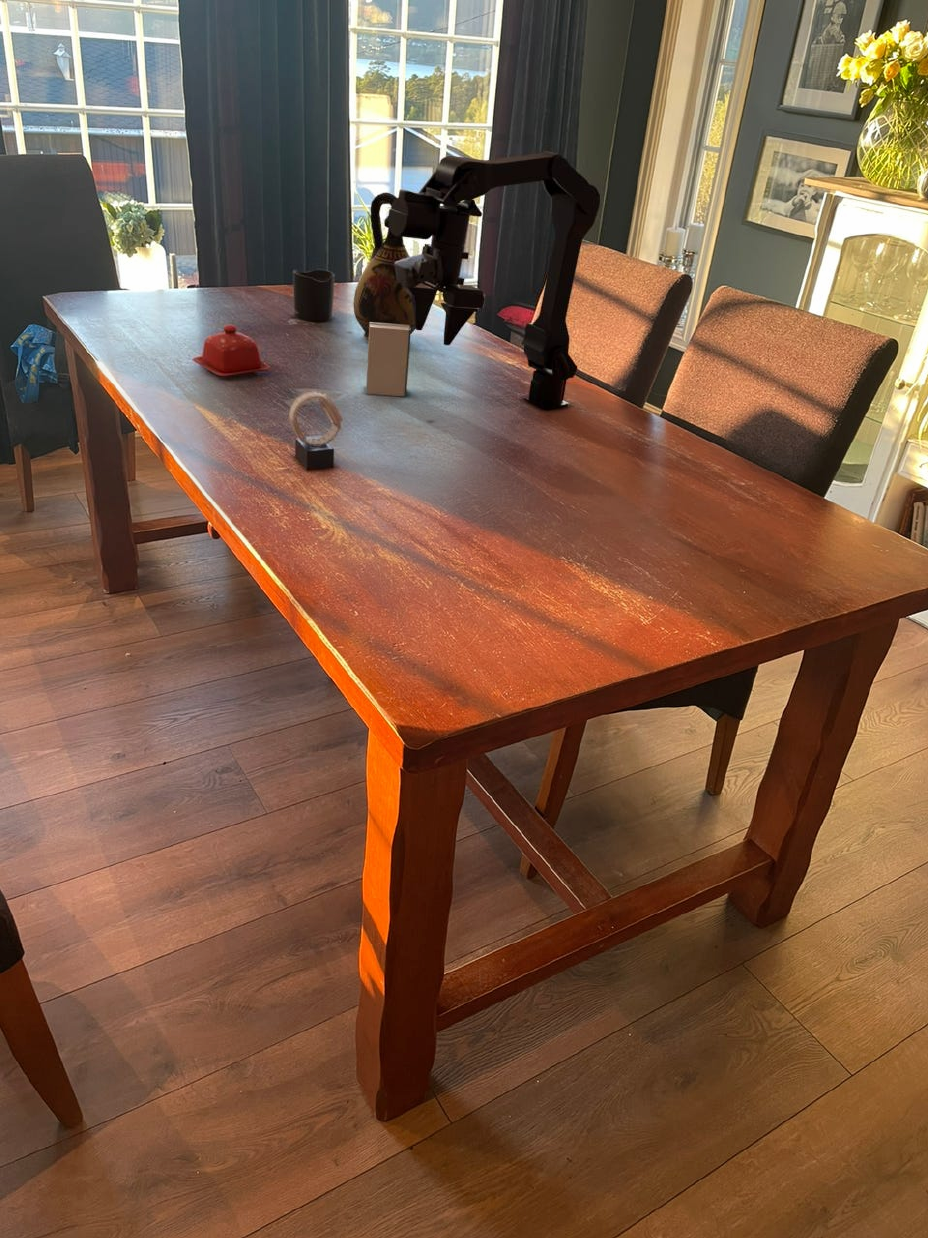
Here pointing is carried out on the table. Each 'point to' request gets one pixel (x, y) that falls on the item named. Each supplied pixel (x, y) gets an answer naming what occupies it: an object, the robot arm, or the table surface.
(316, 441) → the ring sculpture
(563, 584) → the table surface
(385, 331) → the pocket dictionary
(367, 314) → the ceramic jug
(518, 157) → the robot arm
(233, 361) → the butter dish
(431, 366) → the table surface
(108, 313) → the table surface
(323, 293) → the pen holder
